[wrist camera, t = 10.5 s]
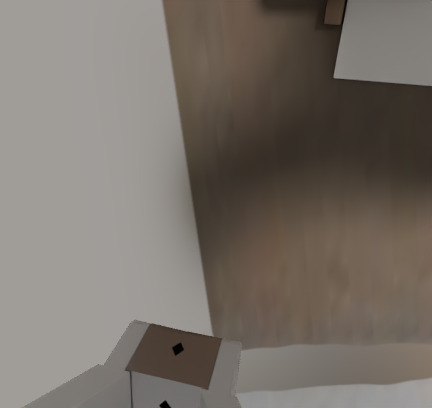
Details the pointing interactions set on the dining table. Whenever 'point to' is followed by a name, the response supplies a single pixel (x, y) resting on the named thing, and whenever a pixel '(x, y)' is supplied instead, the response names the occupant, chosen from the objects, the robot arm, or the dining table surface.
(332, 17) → the strip
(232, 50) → the dining table surface
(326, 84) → the dining table surface
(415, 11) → the mat
